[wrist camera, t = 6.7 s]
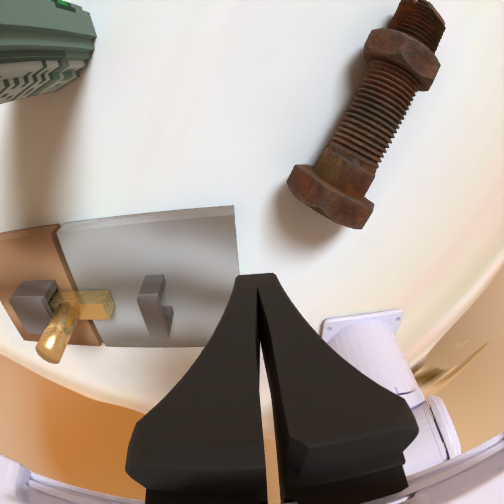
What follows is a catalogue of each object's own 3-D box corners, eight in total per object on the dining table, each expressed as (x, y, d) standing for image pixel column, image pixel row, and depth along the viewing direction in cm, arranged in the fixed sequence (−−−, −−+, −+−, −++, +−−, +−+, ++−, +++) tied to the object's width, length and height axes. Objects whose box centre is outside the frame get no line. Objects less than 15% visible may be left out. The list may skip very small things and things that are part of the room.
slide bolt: (115, 307, 22) (93, 367, 17) (34, 307, 22) (6, 356, 17) (107, 287, 21) (81, 348, 16) (25, 290, 21) (-7, 338, 16)
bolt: (405, 23, 15) (319, 191, 22) (369, -20, 12) (269, 176, 18) (475, 44, 11) (378, 237, 18) (452, -8, 8) (334, 229, 15)
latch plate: (244, 331, 27) (246, 369, 23) (29, 330, 26) (14, 358, 23) (233, 205, 20) (233, 236, 17) (-18, 236, 20) (-43, 260, 16)
